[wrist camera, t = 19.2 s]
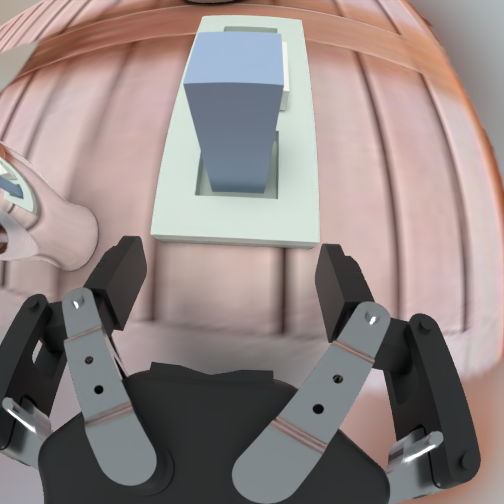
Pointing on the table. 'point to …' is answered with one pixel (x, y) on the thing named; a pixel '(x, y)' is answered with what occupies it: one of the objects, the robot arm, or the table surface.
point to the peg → (235, 105)
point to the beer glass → (40, 218)
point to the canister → (209, 1)
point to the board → (279, 173)
